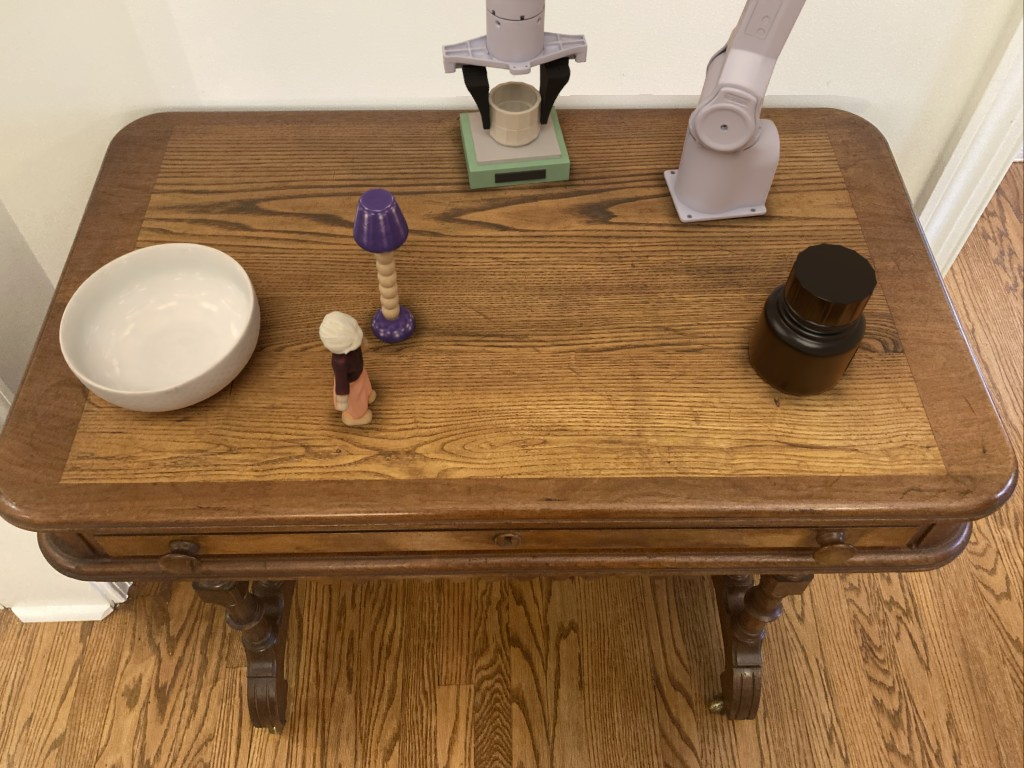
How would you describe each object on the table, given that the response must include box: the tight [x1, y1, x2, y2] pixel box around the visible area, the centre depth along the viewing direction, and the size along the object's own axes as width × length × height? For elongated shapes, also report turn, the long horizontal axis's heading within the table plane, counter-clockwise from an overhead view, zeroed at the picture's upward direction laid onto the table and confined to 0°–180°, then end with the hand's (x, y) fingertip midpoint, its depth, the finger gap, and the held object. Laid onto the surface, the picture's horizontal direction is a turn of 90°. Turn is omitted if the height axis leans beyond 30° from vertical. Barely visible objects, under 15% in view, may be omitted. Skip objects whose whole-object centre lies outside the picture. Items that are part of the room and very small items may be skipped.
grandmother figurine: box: [318, 310, 377, 427], centre depth 72 cm, size 8×4×13 cm, turn 5°
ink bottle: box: [748, 242, 878, 397], centre depth 76 cm, size 10×9×12 cm
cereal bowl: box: [58, 242, 262, 413], centre depth 77 cm, size 17×17×7 cm
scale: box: [459, 105, 571, 190], centre depth 96 cm, size 11×10×3 cm
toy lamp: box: [352, 187, 417, 344], centre depth 76 cm, size 5×5×17 cm
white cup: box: [489, 80, 541, 147], centre depth 93 cm, size 6×6×5 cm
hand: (514, 121), depth 93 cm, fingers closed on white cup, 6 cm apart
